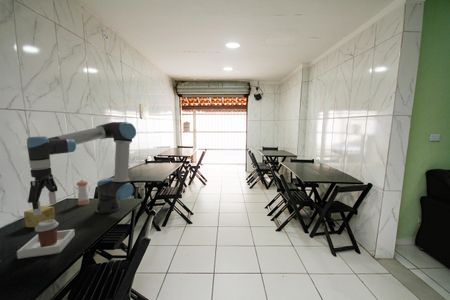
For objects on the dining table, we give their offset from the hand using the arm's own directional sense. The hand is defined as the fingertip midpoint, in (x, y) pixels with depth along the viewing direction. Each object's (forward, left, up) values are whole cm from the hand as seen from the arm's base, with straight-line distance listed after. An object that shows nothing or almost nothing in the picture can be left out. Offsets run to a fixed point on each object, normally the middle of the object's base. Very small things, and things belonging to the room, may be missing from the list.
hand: (45, 209), depth 102 cm
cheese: (+18, -29, -20) cm, 40 cm away
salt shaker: (+5, -60, -20) cm, 63 cm away
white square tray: (0, 0, -20) cm, 20 cm away
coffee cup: (0, 0, -19) cm, 19 cm away
